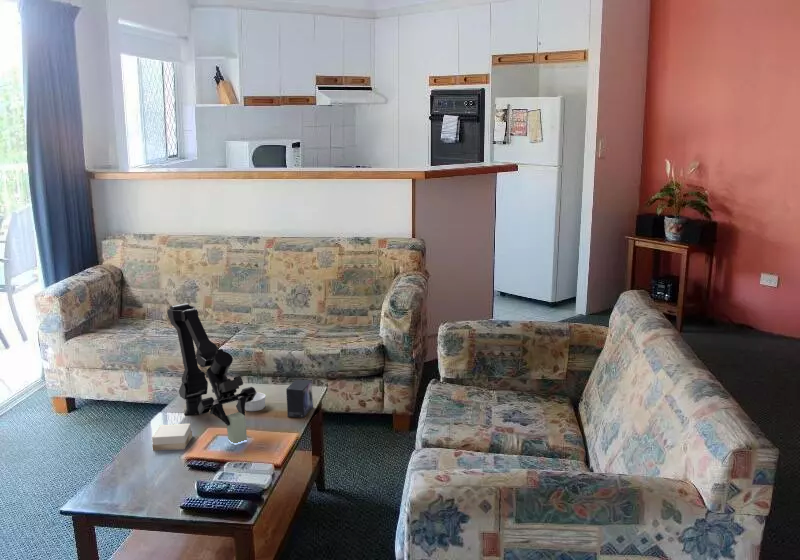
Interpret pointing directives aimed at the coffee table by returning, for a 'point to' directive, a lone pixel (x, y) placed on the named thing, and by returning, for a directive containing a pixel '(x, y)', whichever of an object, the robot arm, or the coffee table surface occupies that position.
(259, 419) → the coffee table surface
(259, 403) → the ramekin
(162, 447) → the tower base slab
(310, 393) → the small box
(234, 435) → the sage block
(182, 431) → the tower top slab
